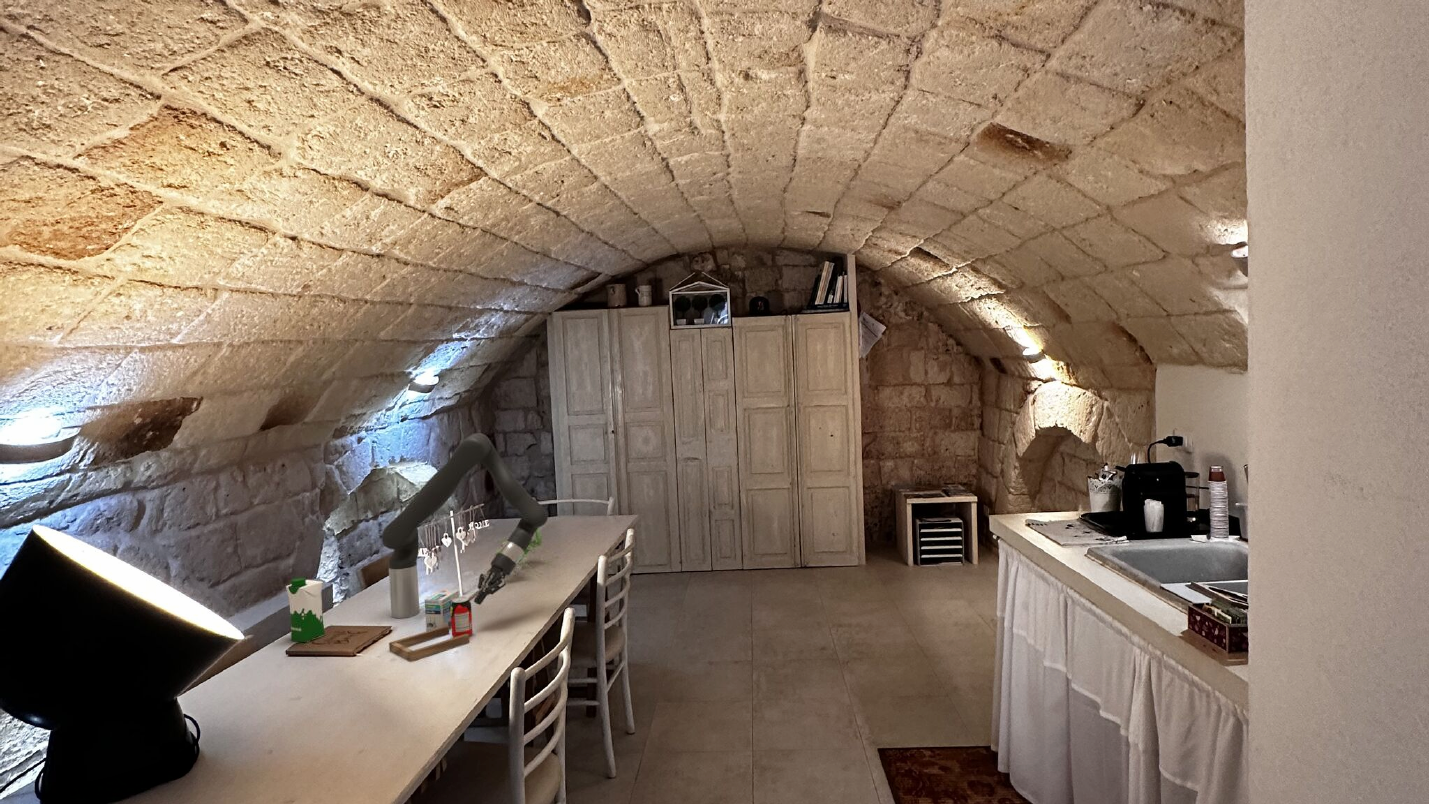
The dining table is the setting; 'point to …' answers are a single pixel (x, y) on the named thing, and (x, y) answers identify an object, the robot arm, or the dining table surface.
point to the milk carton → (305, 609)
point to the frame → (412, 655)
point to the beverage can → (461, 616)
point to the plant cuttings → (535, 544)
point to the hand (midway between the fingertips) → (476, 603)
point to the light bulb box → (439, 609)
